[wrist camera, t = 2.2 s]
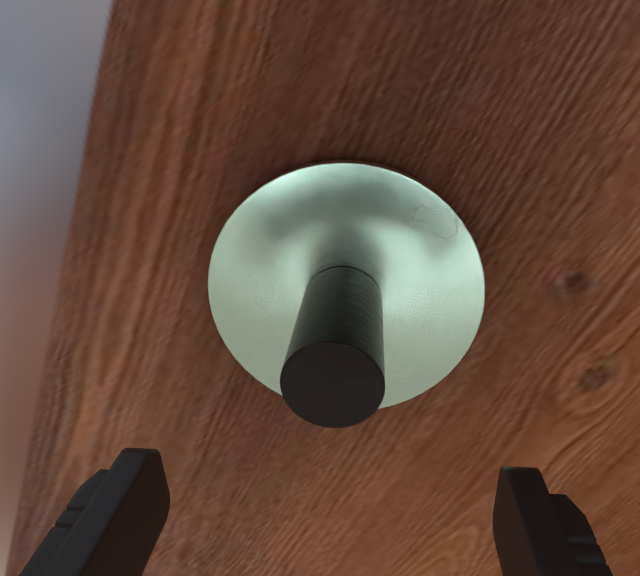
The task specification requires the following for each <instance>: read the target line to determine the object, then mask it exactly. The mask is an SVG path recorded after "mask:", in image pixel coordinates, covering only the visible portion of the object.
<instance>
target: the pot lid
mask: <svg viewBox="0 0 640 576" xmlns="http://www.w3.org/2000/svg"><path fill="white" fill-rule="evenodd" d="M208 294H209V302H210V307H211V311H212V316H213V319H214V321H215V324H216V327H217V329H218V332H219V334H220V335H221V337H222V339H223V341H224V343H225V345H226V346H227V348H228V349H229V351H230V352H231V353H232V355H233V356H234V358H235V359H236V360H237V361H238V362H239V363H240V364H241V365H242V367H243V368H244V369H245V370H246V371H248V372H249V373H250V374H251V375H252V376H253V377H254V378H255V379H257V380H258V381H259V382H261V383H262V384H264V385H265V386H267V387H268V388H269V389H271V390H273V391H275V392H277V393H278V394H280V395H282V396H283V398H284V400H285V402H286V403H287V405H288V406H289V407H290V408H291V410H292V411H293V412H294V413H296V414H297V415H298V416H299V417H301V418H302V419H304V420H306V421H308V422H310V423H312V424H315V425H318V426H322V427H328V428H343V427H349V426H353V425H356V424H359V423H361V422H363V421H365V420H366V419H368V418H369V417H370V416H371V415H373V414H374V413H375V411H376V410H377V409H380V408H384V407H389V406H393V405H396V404H399V403H401V402H404V401H407V400H409V399H411V398H413V397H416V396H418V395H420V394H422V393H423V392H425V391H427V390H428V389H430V388H431V387H433V386H434V385H436V384H437V383H438V382H440V381H441V380H442V379H443V378H444V377H446V376H447V375H448V374H449V373H450V372H451V371H452V370H453V369H454V368H455V367H456V366H457V364H458V363H459V362H460V361H461V359H462V358H463V357H464V355H465V354H466V352H467V351H468V350H469V348H470V346H471V344H472V342H473V340H474V338H475V336H476V334H477V331H478V328H479V326H480V323H481V320H482V315H483V310H484V305H485V277H484V269H483V265H482V261H481V258H480V254H479V251H478V249H477V247H476V244H475V242H474V240H473V237H472V235H471V233H470V232H469V230H468V228H467V227H466V225H465V224H464V222H463V220H462V219H461V217H460V216H459V215H458V213H457V212H456V211H455V210H454V209H453V208H452V206H451V205H450V204H449V203H448V202H447V201H446V200H445V199H444V198H443V197H442V196H440V195H439V194H438V193H437V192H436V191H435V190H434V189H432V188H431V187H429V186H428V185H426V184H425V183H423V182H422V181H420V180H418V179H417V178H415V177H413V176H411V175H408V174H406V173H404V172H402V171H400V170H397V169H394V168H391V167H388V166H385V165H382V164H378V163H372V162H366V161H361V160H329V161H320V162H315V163H311V164H306V165H302V166H299V167H296V168H294V169H291V170H288V171H286V172H283V173H281V174H279V175H278V176H276V177H274V178H272V179H270V180H268V181H267V182H265V183H264V184H263V185H261V186H260V187H259V188H257V189H256V190H254V191H253V192H252V193H251V194H250V195H249V196H248V197H247V198H246V199H245V200H244V201H243V202H242V203H241V204H240V205H239V206H238V207H237V208H236V209H235V211H234V212H233V213H232V215H231V216H230V217H229V219H228V220H227V221H226V223H225V225H224V227H223V228H222V230H221V232H220V234H219V236H218V238H217V240H216V243H215V246H214V249H213V251H212V255H211V260H210V265H209V272H208Z"/></svg>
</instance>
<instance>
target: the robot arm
mask: <svg viewBox="0 0 640 576" xmlns="http://www.w3.org/2000/svg"><path fill="white" fill-rule="evenodd" d="M169 506H170V493H169V489H168V485H167V480H166V476H165V472H164V468H163V464H162V459H161V455H160V453H159V451H158V450H157V449H143V448H125V449H123V450H122V451H121V452H120V454H119V455H118V457H117V458H116V460H115V462H114V463H113V465H112V466H111V468H110V469H109V470H102V469H100V470H99V471H98V472H97V473H96V474H94V475H93V476H92V477H91V478H90V479H88V480H87V481H86V482H85V483H84V484H82V485H81V486H80V488H79V489H78V490H77V492H76V493H75V495H74V496H73V498H72V499H71V501H70V502H69V504H68V505H67V509H66V510H64V511H63V512H62V514H61V515H60V517H59V518H58V520H57V521H56V522H55V527H52V528H51V530H50V531H49V533H48V534H47V536H46V537H45V538H44V540H43V541H42V543H41V544H40V546H39V547H38V549H37V550H36V552H35V553H34V554H33V556H32V557H31V559H30V560H29V562H28V563H27V565H26V566H25V568H24V569H23V570H22V572H21V573H20V575H19V576H141V575H142V573H143V571H144V569H145V566H146V564H147V562H148V560H149V558H150V555H151V553H152V551H153V549H154V546H155V544H156V542H157V540H158V538H159V535H160V533H161V531H162V529H163V526H164V524H165V522H166V519H167V516H168V512H169ZM493 533H494V540H495V545H496V549H497V553H498V557H499V561H500V565H501V569H502V573H503V576H613V575H612V573H611V571H610V568H609V566H607V565H606V560H605V558H604V555H603V553H602V551H601V549H600V547H599V545H597V543H596V538H595V536H594V534H593V531H592V529H591V527H590V525H589V523H588V521H587V518H586V516H585V515H584V514H583V513H582V512H581V511H580V510H579V509H578V507H577V506H576V505H575V504H574V503H573V502H572V501H571V500H570V499H569V498H568V497H567V496H566V495H561V494H549V492H548V489H547V487H546V484H545V482H544V479H543V477H542V475H541V472H540V471H539V469H537V468H529V467H507V466H502V467H501V469H500V472H499V479H498V485H497V491H496V497H495V504H494V510H493Z"/></svg>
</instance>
